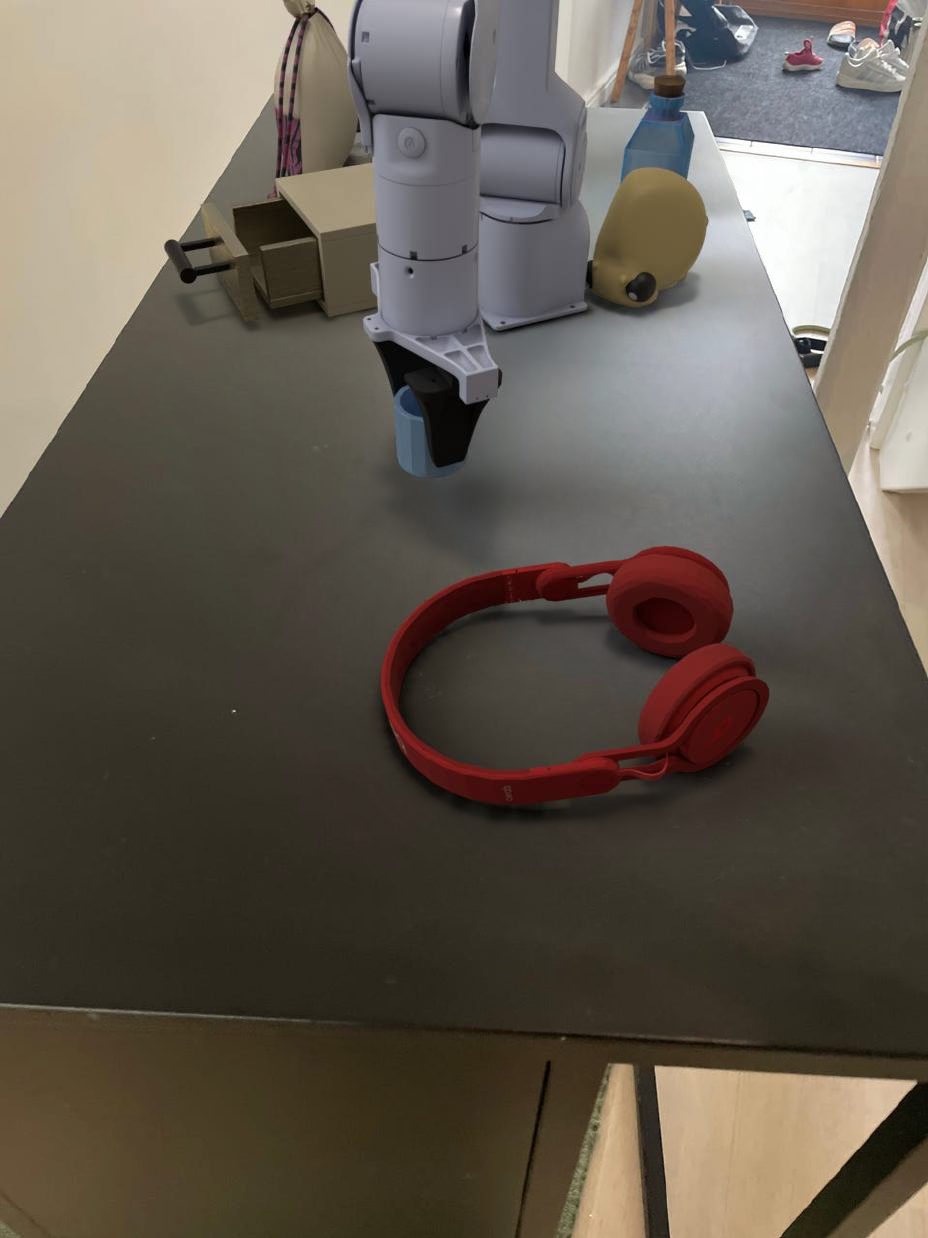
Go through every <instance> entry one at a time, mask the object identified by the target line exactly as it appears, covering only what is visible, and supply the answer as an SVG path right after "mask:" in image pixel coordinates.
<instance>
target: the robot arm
mask: <svg viewBox="0 0 928 1238" xmlns="http://www.w3.org/2000/svg"><path fill="white" fill-rule="evenodd" d="M560 3H561V2H560V0H354V2H353V4H352V7H351V12H350V16H349V22H348V30H347V54H348V62H347V71H348V80H349V86H350V91H351V95H352V99H353V102H354V105H355V107H356V109H357V112H358V116H359V120H360V128H361V132H360V140H361V146H362V147H363V151H364V153H365V154H367V155H368V156H371V163H372V165H373V181H374V198H375V214H376V230H377V244H378V262H375V263H371V264H370V269H371V284H372V292H373V293H374V294H375V295H376V296H377V300H378V307H377V312H376V313H374V314H370V315H367V316H365V317H364V318H363V319H362V328H363V331H364V332H365V334H366V335H367V336H368V337H369V339H370V340H371V342H372V343H373V346H374V347H375V349H376V351H377V353H378V355H379V357H380V359H381V362H382V365H383V367H384V370H385V372H386V375H387V379H388V382H389V385H390V389H391V393H392V396H393V398H394V397H395V395H396V394H397V392H398V391H399V390H400V389H401V388H403V387H404V386H406V385H408V386H409V387H410V389H411V391H412V392H413V394H414V396H415V398H416V400H417V402H418V405H419V408H420V411H421V414H422V417H423V421H424V426H425V432H426V438H427V444H428V450H429V453H430V457H431V459H432V461H433V463H434V465H435V466H436V467H437V468H441V467H444V466H448V465H451V464H455V463H459V462H462V461H464V460H465V457H466V454H467V451H468V452H469V448H470V445H471V443H472V439H473V435H474V433H475V430H476V427H477V424H478V422H479V419H480V417H481V415H482V413H483V412H484V409H485V408H486V406H487V405H488V403H489V401H490V400H491V399H493V398H497V397H498V391H499V388H500V387H501V386H502V383H503V372H502V370H501V369H502V368H501V369H500V367H499V365H497V364H496V362H495V361H494V360H493V358H492V356H491V353H490V350H489V346H488V345H489V344H488V341H487V336H486V330H485V326H484V321H485V322H486V323H487V325H488V326H490V327H491V328H492V329H493V330H494V331H498V332H499V331H500V332H501V331H504V330H508V329H512V328H516V327H520V326H526V325H530V324H533V323H538V322H542V321H547V320H550V319H555V318H558V317H563V316H568V315H573V314H576V313H580V312H584V311H586V310H588V303H587V302H585V300H584V298H585V289H586V286H585V282H586V273H587V264H588V261H589V256H590V255H589V254H590V245H591V230H590V221H589V217H588V214H587V211H586V208H585V207H584V205H583V203H582V202H581V200H580V199H579V198H580V195H581V191H582V186H583V181H584V175H585V168H586V161H587V152H588V151H587V150H588V132H587V122H588V121H587V120H588V109H587V107H586V100H585V99H584V98H583V97H582V96H581V95H580V94H579V93H578V92H577V91H576V90H575V89H573V88H572V86H570V85H569V84H568V83H567V82H566V81H565V80H563V79H562V78H561V77H560V76H559V75H558V73H557V72H556V61H557V60H556V59H557V47H558V46H557V45H558V32H559V31H558V30H559V29H558V28H559V16H560ZM483 320H484V321H483Z"/></svg>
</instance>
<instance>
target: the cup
mask: <svg viewBox="0 0 928 1238" xmlns="http://www.w3.org/2000/svg"><path fill="white" fill-rule="evenodd" d="M393 402H394V403H393V407H394V408H393V409H394V427H395V446H396V459H397V462H398V465H399V466H400V467H401V468H402V470H404V471H405V472H407V473H408V474H410V475H412V476H415V477H419V478H424V479H440V478H441V479H442V478H446V477H449V476H453V475H454V474H456V473H458V472H460V471H461V470H462V469H463V468H464V467H465V465H466V464H467V461H468V459H469V450H468V451H467V454H466V457H465V460H464V461H462V462H459V463H455V464H451V465H448V466H444V467H441V468H437V467H436V466H435V465H434V463H433V461H432V459H431V457H430V453H429V450H428V444H427V438H426V432H425V426H424V421H423V417H422V414H421V411H420V408H419V405H418V402H417V400H416V398H415V396H414V394H413V392H412V391H411V389H410V387H409V386H408V385H406V386H404V387H403V388H401V389H400V390H399V391H398V392H397V394H396V395H395V397H394V396H393Z"/></svg>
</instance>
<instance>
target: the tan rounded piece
mask: <svg viewBox="0 0 928 1238" xmlns="http://www.w3.org/2000/svg"><path fill="white" fill-rule="evenodd" d="M706 210H707V209H706V205H705V202H704V200H703V198H702V195H701V194H700V193H699V191H698V189H697V188H696V187H695V186H694V185H693V184H692V183H691V182H690V181H689V180H688V178H687V179H685V178H684V177H682V176H681V175H679V174H677V173H675V172H672V171H670V170H666V169H662V168H655V167H646V168H639V169H636V170H634V171H632V172H630V173H629V174H628V175H627V176H626V177H625V178H624V180H623V181H622V183H621V184H620V183H619V186H618V187H617V190H616V192H615V194H614V196H613V198H612V201H611V203H610V205H609V207H608V210H607V212H606V215H605V217H604V219H603V222H602V224H601V227H600V229H599V232H598V234H597V238H596V242H595V246H594V251H593V256H592V259H590V260H588V264H587V273H586V282H585V288H587V289H589V290H590V291H591V292H592V293H593V294H595V295H596V296H598V297H599V298H602V299H603V300H606V301H608V302H611V303H613V304H615V305H616V304H617V305H619V306H622V307H626V308H642V307H646V306H648V305H651V304H652V303H653V302H655V300H656V299H657V298H658V294H659V293H658V292H659V291H664V290H665V289H668V288H670V287H672V286H674V285H676V284H677V283H683V282H685V280H686V279H687V278H688V273H689V272H690V271H691V269H692V268H693V266H694V265H695V263H696V262H697V260H698V258H699V256H700V254H701V252H702V249H703V247H704V244H705V240H706V236H707V229H708V228H707V227H708V225H709V223H710V221H709V217H708V215H707V211H706Z"/></svg>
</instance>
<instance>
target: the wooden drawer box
mask: <svg viewBox="0 0 928 1238" xmlns="http://www.w3.org/2000/svg"><path fill="white" fill-rule="evenodd" d="M275 182H276V189H277V197H280V196H284V197H285V199H286V200H287V201H288V202H289V203H290V205H291V206H292V207H293V208H294V210H295V211H296V212H297V213H298V214H299V216H300V217H301V218H302V219H303V221H304V222H305V223H306V224H307V225H308V227H309V228H310V229H311V230H312V232H313V233H314V234H315V235H316V236H317V238H318V242H319V251H320V261H321V270H322V279H323V289H324V298H320V299H315V300H316V302H317V303H318V304H319V306H320V307H321V308H322V310H323V311H324V313H325V314H326V315H327V317H328V318H332V317H336V316H342V315H345V314H351V313H356V312H359V311H364V310H368V309H369V310H370V309H374V308H378V300H377V296H376V295H375V294H374V293H373V292H372V284H371V269H370V264H371V263H375V262H378V244H377V230H376V214H375V198H374V181H373V165H372V162H368V163H362V164H356V165H349V166H343V167H342V168H337V169H331V170H325V171H318V172H312V173H306V174H300V175H294V176H288V175H287V176H285V177H282V178H281V177H280V178H276V179H275V178H274V183H275Z"/></svg>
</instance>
